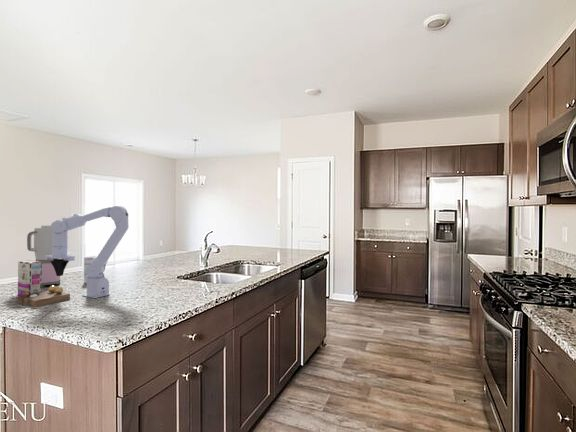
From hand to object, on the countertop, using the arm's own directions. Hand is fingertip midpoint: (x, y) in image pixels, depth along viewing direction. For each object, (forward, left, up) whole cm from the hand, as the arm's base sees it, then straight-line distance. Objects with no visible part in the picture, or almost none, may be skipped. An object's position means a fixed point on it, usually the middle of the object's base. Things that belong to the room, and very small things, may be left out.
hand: (59, 275), depth 153 cm
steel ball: (+1, +10, -8) cm, 13 cm away
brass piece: (-4, +3, -6) cm, 7 cm away
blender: (+32, -10, -10) cm, 35 cm away
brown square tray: (-1, +7, -10) cm, 12 cm away
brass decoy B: (+1, +3, -6) cm, 6 cm away
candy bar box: (+12, +6, -10) cm, 17 cm away
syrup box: (+19, -28, -10) cm, 35 cm away
